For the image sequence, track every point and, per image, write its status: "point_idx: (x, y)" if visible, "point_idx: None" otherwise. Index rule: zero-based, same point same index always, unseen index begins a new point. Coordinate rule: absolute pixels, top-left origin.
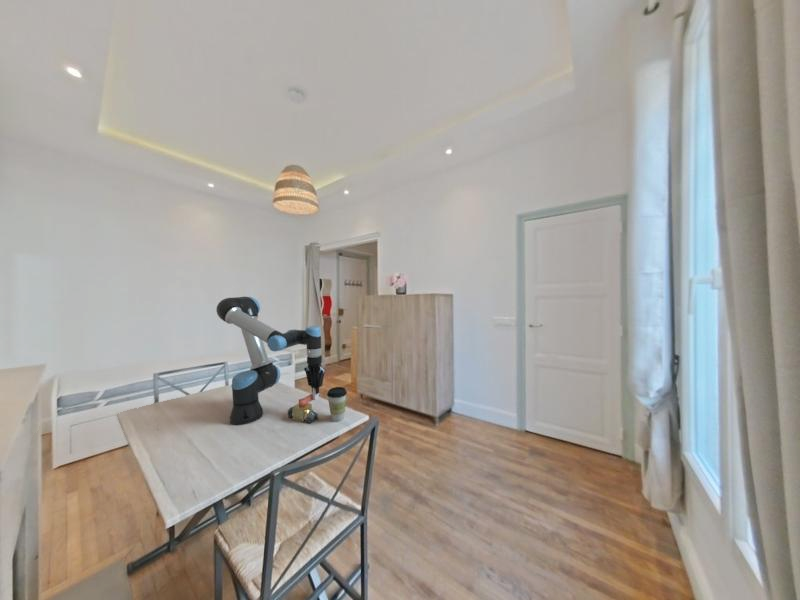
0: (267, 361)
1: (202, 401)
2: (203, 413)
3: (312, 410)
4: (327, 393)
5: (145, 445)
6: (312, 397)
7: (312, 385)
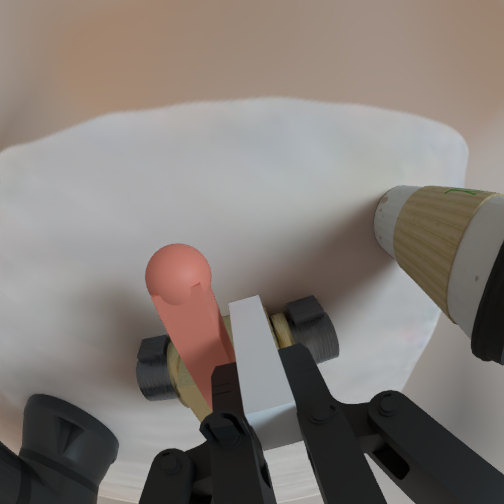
0: None
1: None
2: (10, 434)
3: (293, 339)
4: (482, 357)
5: (109, 496)
6: (231, 354)
7: (267, 478)
